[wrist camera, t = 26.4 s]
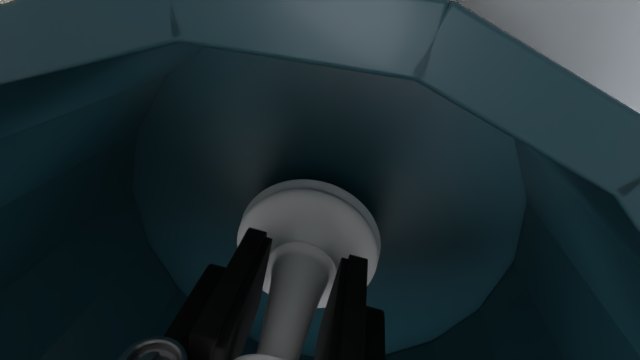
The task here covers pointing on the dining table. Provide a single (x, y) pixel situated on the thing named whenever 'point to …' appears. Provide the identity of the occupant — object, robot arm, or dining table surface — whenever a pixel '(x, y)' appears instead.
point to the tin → (310, 172)
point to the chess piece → (305, 255)
